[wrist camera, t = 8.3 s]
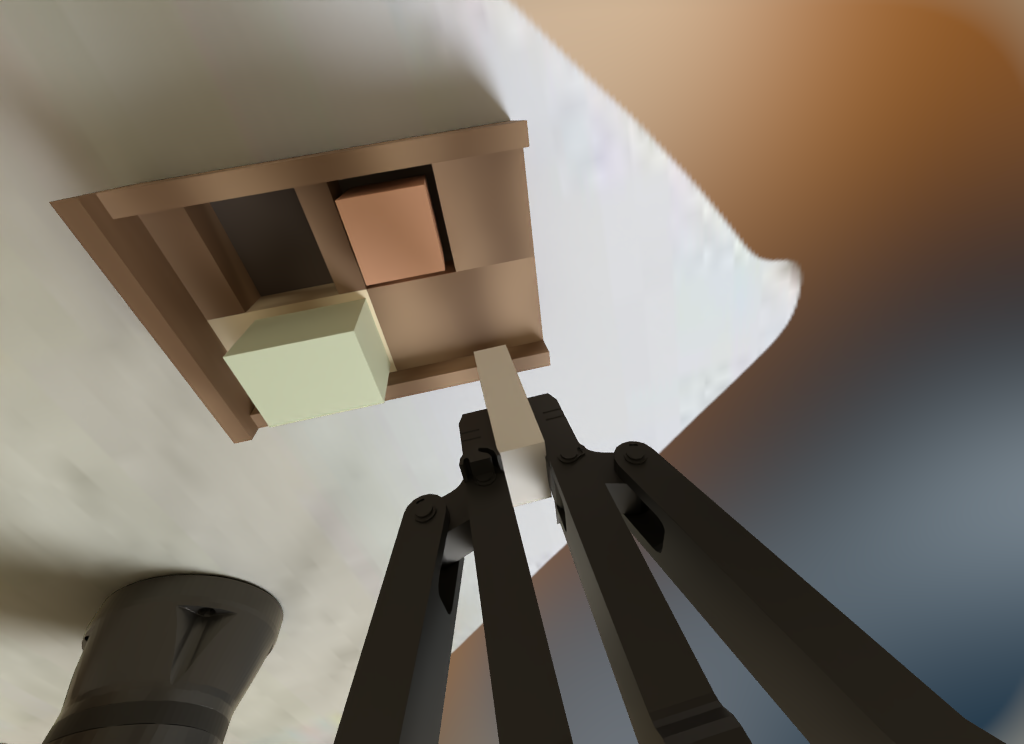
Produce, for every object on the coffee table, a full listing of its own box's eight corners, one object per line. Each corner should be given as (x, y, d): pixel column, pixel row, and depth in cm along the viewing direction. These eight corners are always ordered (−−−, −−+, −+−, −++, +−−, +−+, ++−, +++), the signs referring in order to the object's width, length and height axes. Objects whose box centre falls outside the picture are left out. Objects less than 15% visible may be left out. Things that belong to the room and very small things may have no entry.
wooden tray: (265, 392, 26) (234, 443, 22) (133, 184, 19) (48, 202, 15) (536, 335, 27) (554, 373, 23) (511, 120, 20) (531, 120, 16)
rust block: (375, 261, 22) (366, 285, 19) (350, 187, 20) (334, 200, 17) (443, 248, 23) (445, 270, 19) (425, 174, 21) (424, 184, 17)
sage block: (292, 384, 23) (269, 427, 20) (255, 319, 21) (222, 357, 18) (390, 363, 24) (384, 403, 20) (365, 298, 21) (353, 330, 18)
